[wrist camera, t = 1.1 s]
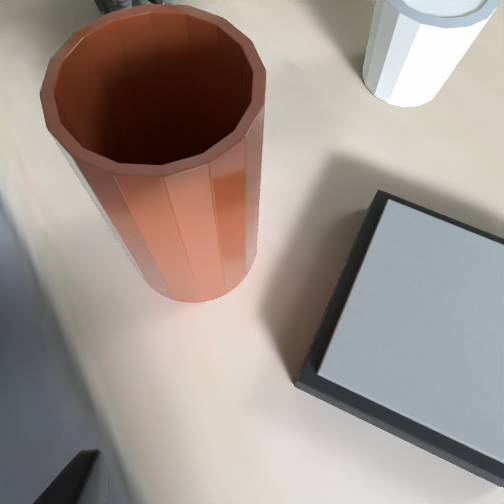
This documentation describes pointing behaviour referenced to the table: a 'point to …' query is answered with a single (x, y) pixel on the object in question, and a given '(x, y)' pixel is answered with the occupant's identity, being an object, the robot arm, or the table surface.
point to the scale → (418, 335)
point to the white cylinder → (419, 45)
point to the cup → (166, 140)
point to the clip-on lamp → (127, 4)
